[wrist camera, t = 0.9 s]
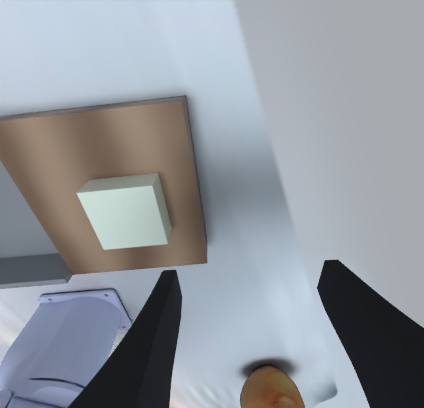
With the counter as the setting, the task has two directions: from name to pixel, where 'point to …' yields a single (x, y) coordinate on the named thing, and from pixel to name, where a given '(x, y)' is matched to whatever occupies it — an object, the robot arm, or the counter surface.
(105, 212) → the tile
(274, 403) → the onion
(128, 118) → the plate
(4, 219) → the box
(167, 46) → the counter surface
